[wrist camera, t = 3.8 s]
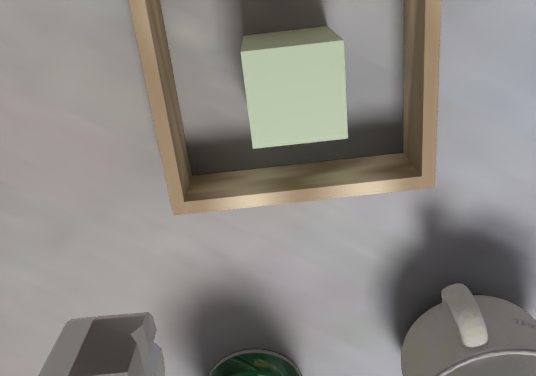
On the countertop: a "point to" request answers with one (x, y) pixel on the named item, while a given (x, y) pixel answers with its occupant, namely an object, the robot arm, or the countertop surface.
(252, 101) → the block
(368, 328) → the countertop surface
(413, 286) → the countertop surface
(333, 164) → the wooden frame
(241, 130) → the countertop surface
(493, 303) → the teacup
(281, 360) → the canned tomato
